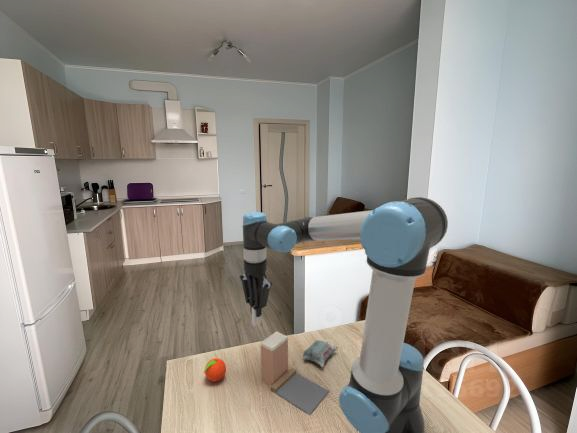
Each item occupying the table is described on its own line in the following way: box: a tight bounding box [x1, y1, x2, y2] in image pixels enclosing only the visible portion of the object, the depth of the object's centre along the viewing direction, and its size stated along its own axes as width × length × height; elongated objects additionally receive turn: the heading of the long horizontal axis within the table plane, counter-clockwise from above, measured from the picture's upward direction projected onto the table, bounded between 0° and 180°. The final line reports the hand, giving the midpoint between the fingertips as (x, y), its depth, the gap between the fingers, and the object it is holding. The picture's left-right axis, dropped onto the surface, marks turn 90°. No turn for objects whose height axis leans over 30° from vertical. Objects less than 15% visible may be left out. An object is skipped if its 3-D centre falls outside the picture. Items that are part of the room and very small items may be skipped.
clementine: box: [203, 357, 227, 383], centre depth 98 cm, size 8×7×7 cm
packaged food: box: [302, 339, 338, 368], centre depth 109 cm, size 9×12×5 cm
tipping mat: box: [270, 367, 330, 416], centre depth 94 cm, size 15×11×2 cm
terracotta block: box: [260, 331, 289, 387], centre depth 99 cm, size 5×8×14 cm, turn 142°
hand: (256, 323), depth 102 cm, fingers closed
